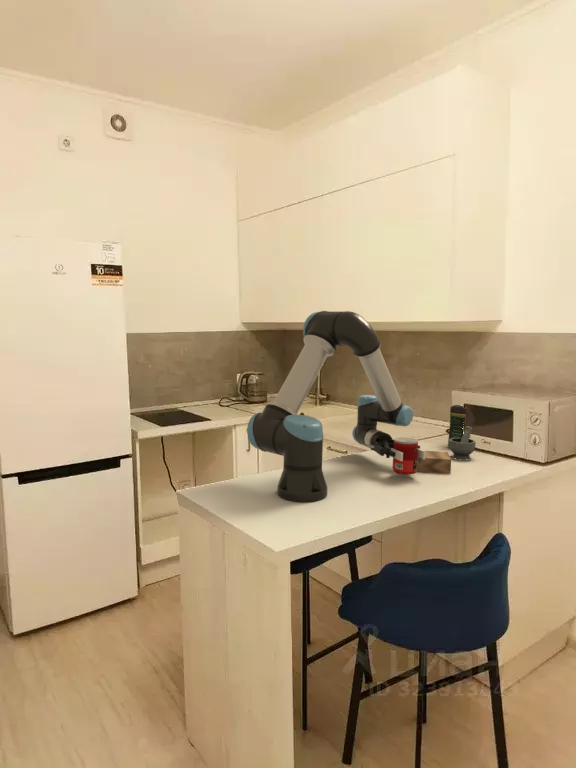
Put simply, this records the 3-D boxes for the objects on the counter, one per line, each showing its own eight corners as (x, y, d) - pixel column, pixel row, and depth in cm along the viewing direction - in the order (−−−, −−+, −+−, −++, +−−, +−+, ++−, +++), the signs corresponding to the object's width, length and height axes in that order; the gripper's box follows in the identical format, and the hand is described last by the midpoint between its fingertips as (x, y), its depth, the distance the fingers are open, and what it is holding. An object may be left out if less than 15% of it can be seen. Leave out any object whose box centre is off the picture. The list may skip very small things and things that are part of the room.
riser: (418, 471, 190) (418, 457, 189) (416, 463, 200) (416, 450, 200) (450, 473, 188) (451, 459, 187) (447, 465, 198) (447, 451, 198)
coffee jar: (464, 451, 220) (466, 406, 218) (445, 448, 225) (447, 404, 223) (472, 447, 228) (475, 403, 225) (454, 444, 233) (456, 401, 230)
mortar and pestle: (466, 462, 203) (468, 431, 201) (444, 457, 209) (445, 427, 208) (480, 457, 211) (481, 427, 209) (457, 453, 217) (459, 423, 216)
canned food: (418, 475, 179) (420, 442, 177) (394, 474, 179) (396, 441, 178) (413, 468, 186) (415, 437, 185) (390, 468, 186) (392, 437, 185)
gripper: (403, 449, 202) (439, 465, 181) (353, 453, 195) (384, 469, 174) (403, 429, 202) (440, 443, 180) (353, 432, 195) (385, 446, 173)
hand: (413, 456), depth 177 cm, fingers closed on canned food, 8 cm apart
